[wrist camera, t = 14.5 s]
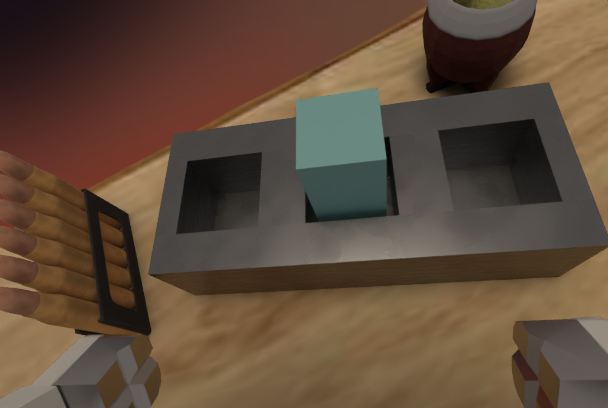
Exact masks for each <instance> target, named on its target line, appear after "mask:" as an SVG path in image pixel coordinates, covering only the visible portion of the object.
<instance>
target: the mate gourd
mask: <svg viewBox="0 0 608 408" xmlns="http://www.w3.org/2000/svg"><path fill="white" fill-rule="evenodd" d="M536 3H537V0H429V1H428V6H427V9H426V11H425V14H424V19H423V40H424V49H425V54H426V59H427V71H428V75H429V78H430V82H429V83H427V84H426V89H427V90H428V92H430V93H433V92H435V91H438V90H440V89H442V88H445V87H447V86H450V85H452V84H454V83H457V82H461V83H462V84H463V85H464V86H465V87H466V88H467V89H468V91H469V92H470V93H476V92H484V91H487V90H488V88H489V87H490V86H491V85H492V83H493V82H494V81H495V79H496V77H497V75H498V73H499V72H500V71H501V70H502V69H503V68H504V67H505V66H506V65H507V64H508V63H509V62H510V61H511V60H512V59H513V58H514V57H515V55H516V54H517V53H518V52H519V51H520V50H521V48H522V47H523V45H524V44H525V42H526V40H527V38H528V35H529V32H530V29H531V26H532V23H533V19H534V16H535V9H536Z"/></svg>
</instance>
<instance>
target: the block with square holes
mask: <svg viewBox="0 0 608 408" xmlns="http://www.w3.org/2000/svg"><path fill="white" fill-rule="evenodd" d="M380 110H381V118H382V127H383V135H384V143H385V151H386V167H387V216H386V217H374V218H362V219H350V220H338V221H326V222H319V221H318V219H317V216H316V214H315V212H314V209H313V207H312V205H311V203H310V200H309V198H308V196H307V194H306V191H305V189H304V187H303V184H302V182H301V180H300V178H299V175H298V173H297V171H296V117H295V118H288V119H281V120H274V121H266V122H259V123H252V124H245V125H237V126H230V127H223V128H216V129H208V130H201V131H194V132H187V133H179V134H174V135H173V140H172V145H171V151H170V156H169V162H168V167H167V173H166V178H165V184H164V189H163V195H162V201H161V206H160V212H159V217H158V223H157V228H156V234H155V239H154V245H153V250H152V256H151V261H150V267H149V273H148V275H150V276H153V277H155V278H157V279H160V280H162V281H164V282H166V283H169V284H171V285H173V286H176V287H178V288H180V289H182V290H185V291H187V292H189V293H192V294H194V295H211V294H231V293H250V292H270V291H289V290H309V289H328V288H348V287H367V286H387V285H406V284H426V283H446V282H465V281H485V280H504V279H524V278H543V277H559V276H561V275H563V274H564V273H566V272H568V271H569V270H571V269H573V268H574V267H576V266H578V265H579V264H581V263H583V262H584V261H586V260H588V259H589V258H591V257H593V256H594V255H596V254H598V253H599V252H601V251H603V250H604V249H606V248H608V234H607V231H606V229H605V226H604V223H603V221H602V218H601V216H600V213H599V210H598V208H597V205H596V203H595V200H594V198H593V195H592V192H591V190H590V187H589V185H588V182H587V179H586V177H585V174H584V172H583V169H582V166H581V164H580V161H579V159H578V156H577V154H576V151H575V148H574V146H573V143H572V141H571V138H570V135H569V133H568V130H567V128H566V125H565V122H564V120H563V117H562V115H561V112H560V109H559V107H558V104H557V102H556V99H555V97H554V94H553V91H552V89H551V86H550V84H549V83H542V84H534V85H527V86H520V87H513V88H505V89H498V90H491V91H484V92H476V93H469V94H462V95H455V96H448V97H440V98H433V99H426V100H419V101H411V102H404V103H397V104H390V105H382V106H380Z"/></svg>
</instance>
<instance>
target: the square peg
mask: <svg viewBox="0 0 608 408" xmlns="http://www.w3.org/2000/svg"><path fill="white" fill-rule="evenodd" d="M296 171H297V173H298V175H299V178H300V180H301V182H302V184H303V187H304V189H305V191H306V194H307V196H308V198H309V200H310V203H311V205H312V207H313V209H314V212H315V214H316V216H317V219H318V221H319V222H326V221H338V220H350V219H362V218H374V217H386V216H387V167H386V151H385V143H384V135H383V127H382V118H381V110H380V102H379V93H378V88H375V89H369V90H362V91H355V92H348V93H341V94H335V95H328V96H321V97H314V98H307V99H301V100H296Z"/></svg>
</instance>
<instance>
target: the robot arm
mask: <svg viewBox="0 0 608 408" xmlns="http://www.w3.org/2000/svg"><path fill="white" fill-rule="evenodd" d="M513 340H514V341H515V343H516V345H517V346H518V348H519V349H518V350H517V351H516V352H515V353H514V355H513V356H512V374H513V379H514V385H515V387H516V390H517V393H518V396H519V398H520V400H521V402H522V404H523V406H524V407H525V408H608V320H607V319H604V318H602V317H583V318H571V319H562V320H537V321H516V322H515V324H514V327H513ZM152 349H153V347H152V345H151V342H150V340H149V337H148V336H146V335H143V334H106V335H87V336H84V337H81V338H80V339H79V340H78V341H76V342H75V343H74V344H73V345H72V346H71V347H70V348H69V349H68V350H67V351H66V352H65V353H64V354H63V355H62V356H61V357H60V358H59V359H58V360H57V361H55V362H54V363H53V364H52V365H51V366H50V367H49V368H48V369H47V370H46V371H45V372H44V373H43V374H42V375H41V376H40V377H39V378H38V379H37V380H35V381H34V382H33V383H32V384H31V385H30V386H23V387H21V388H19V389H18V390H16V391H14V392H12V393H10V394H8V395H6V396H5V397H3V398H1V399H0V408H150V407H151V406H152V404H153V403H154V401H155V399H156V398H157V396H158V392H159V388H160V384H161V372H160V368H159V365H158V363H157V362H156V361H155V360H154V359H152V358H151V357H150V354H151V351H152Z"/></svg>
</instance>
